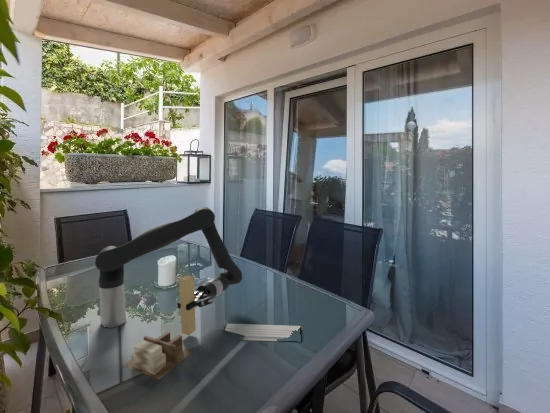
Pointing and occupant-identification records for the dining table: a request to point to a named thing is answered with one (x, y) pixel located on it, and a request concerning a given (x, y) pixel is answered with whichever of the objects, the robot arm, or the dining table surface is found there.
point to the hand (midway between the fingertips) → (182, 307)
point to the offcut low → (149, 363)
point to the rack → (170, 349)
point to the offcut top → (148, 350)
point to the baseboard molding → (261, 331)
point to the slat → (185, 298)
